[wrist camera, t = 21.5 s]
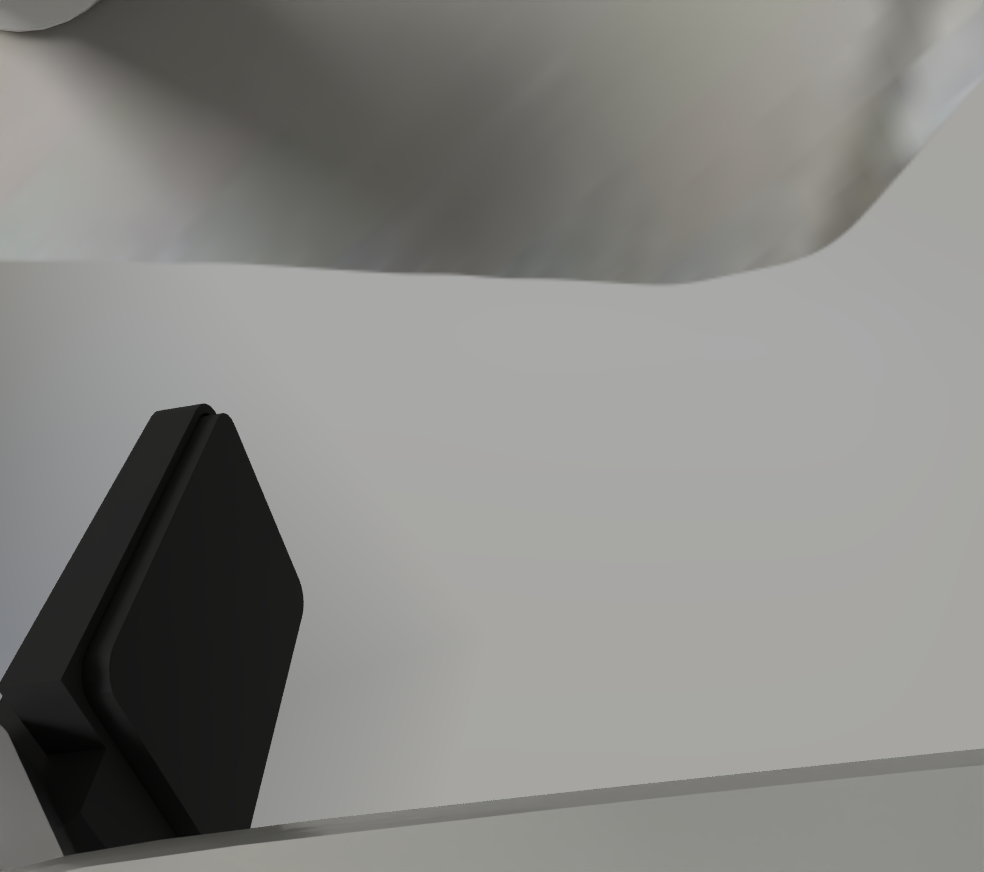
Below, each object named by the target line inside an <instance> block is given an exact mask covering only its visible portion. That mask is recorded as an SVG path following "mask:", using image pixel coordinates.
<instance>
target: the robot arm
mask: <svg viewBox="0 0 984 872" xmlns="http://www.w3.org/2000/svg"><path fill="white" fill-rule="evenodd" d="M98 1H99V0H0V30H5V31H14V32H22V31H32V30H43V29H47V28H50V27H53V26H56V25H59V24H61V23H64V22H67V21H70V20H71V19H73V18H75V17H77V16H79V15H81V14H83V13H84V12H86V11H87V10H89V9H90V8H91V7H92V6H93V5H95V4H96V3H97V2H98ZM303 602H304V601H303V593H302V587H301V584H300V581H299V578H298V576H297V573H296V571H295V569H294V566H293V564H292V561H291V559H290V557H289V554H288V552H287V550H286V547H285V545H284V542H283V540H282V537H281V535H280V533H279V531H278V528H277V526H276V523H275V521H274V519H273V516H272V514H271V511H270V509H269V506H268V504H267V502H266V499H265V497H264V494H263V492H262V490H261V487H260V485H259V482H258V481H257V478H256V475H255V473H254V470H253V468H252V466H251V463H250V461H249V458H248V456H247V454H246V451H245V449H244V446H243V444H242V442H241V439H240V437H239V435H238V432H237V430H236V427H235V425H234V423H233V421H232V419H231V418H230V417H229V416H228V415H227V414H225V413H221V414H216V413H215V411H214V410H213V409H212V408H211V406H209V405H207V404H198V405H192V406H186V407H179V408H173V409H167V410H161V411H157V412H155V413H154V414H153V415H152V416H151V418H150V420H149V422H148V423H147V425H146V427H145V429H144V430H143V432H142V434H141V436H140V438H139V439H138V441H137V443H136V444H135V446H134V448H133V450H132V451H131V453H130V455H129V457H128V459H127V460H126V462H125V464H124V466H123V467H122V469H121V471H120V473H119V474H118V476H117V478H116V480H115V481H114V483H113V485H112V487H111V488H110V490H109V492H108V494H107V495H106V497H105V499H104V501H103V503H102V504H101V506H100V508H99V509H98V512H97V513H96V515H95V516H94V518H93V520H92V522H91V524H90V525H89V527H88V529H87V530H86V532H85V534H84V536H83V538H82V539H81V541H80V543H79V545H78V546H77V548H76V550H75V552H74V553H73V555H72V557H71V559H70V560H69V562H68V564H67V566H66V567H65V569H64V571H63V573H62V575H61V576H60V578H59V580H58V581H57V583H56V585H55V587H54V588H53V590H52V592H51V594H50V596H49V597H48V599H47V601H46V603H45V604H44V606H43V608H42V610H41V611H40V613H39V615H38V617H37V618H36V620H35V622H34V624H33V625H32V627H31V629H30V631H29V632H28V634H27V636H26V638H25V639H24V641H23V643H22V645H21V646H20V648H19V650H18V652H17V654H16V655H15V657H14V659H13V661H12V662H11V664H10V666H9V668H8V670H7V671H6V673H5V675H4V676H3V678H2V680H1V682H0V693H1V694H2V698H1V700H0V872H984V749H976V750H966V751H955V752H946V753H936V754H927V755H917V756H907V757H897V758H888V759H878V760H869V761H860V762H849V763H840V764H831V765H820V766H811V767H802V768H792V769H783V770H773V771H763V772H754V773H744V774H735V775H726V776H716V777H707V778H697V779H687V780H678V781H668V782H659V783H649V784H640V785H631V786H621V787H612V788H602V789H593V790H584V791H576V792H566V793H556V794H548V795H539V796H529V797H520V798H511V799H502V800H493V801H484V802H475V803H466V804H457V805H448V806H439V807H430V808H420V809H412V810H402V811H393V812H385V813H375V814H366V815H357V816H348V817H339V818H331V819H321V820H313V821H306V822H297V823H290V824H282V825H274V826H266V827H259V828H250V827H251V822H252V818H253V814H254V810H255V806H256V802H257V798H258V794H259V789H260V785H261V782H262V777H263V774H264V769H265V765H266V761H267V757H268V753H269V749H270V745H271V741H272V737H273V733H274V728H275V724H276V720H277V716H278V712H279V708H280V704H281V700H282V696H283V692H284V688H285V684H286V680H287V676H288V672H289V668H290V663H291V659H292V655H293V651H294V647H295V643H296V639H297V635H298V631H299V626H300V622H301V619H302V614H303Z"/></svg>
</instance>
